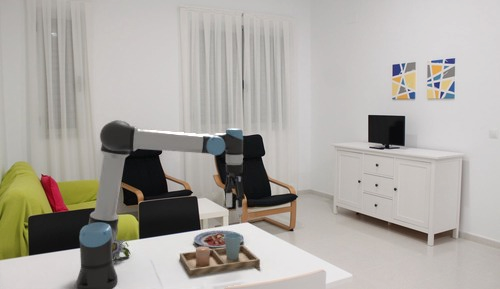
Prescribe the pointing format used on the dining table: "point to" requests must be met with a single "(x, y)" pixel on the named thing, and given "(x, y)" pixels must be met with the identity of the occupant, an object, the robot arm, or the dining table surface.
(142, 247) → the dining table surface
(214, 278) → the dining table surface
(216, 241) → the ceramic plate
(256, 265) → the divided wooden tray
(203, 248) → the tan rounded piece
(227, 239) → the cup
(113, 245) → the passion flower
